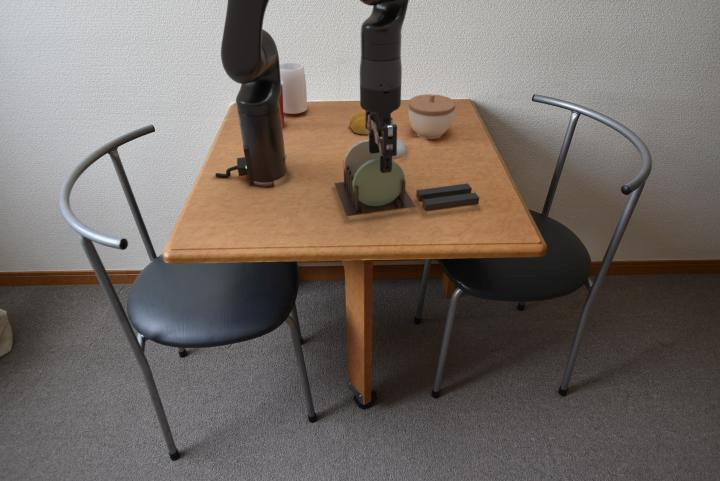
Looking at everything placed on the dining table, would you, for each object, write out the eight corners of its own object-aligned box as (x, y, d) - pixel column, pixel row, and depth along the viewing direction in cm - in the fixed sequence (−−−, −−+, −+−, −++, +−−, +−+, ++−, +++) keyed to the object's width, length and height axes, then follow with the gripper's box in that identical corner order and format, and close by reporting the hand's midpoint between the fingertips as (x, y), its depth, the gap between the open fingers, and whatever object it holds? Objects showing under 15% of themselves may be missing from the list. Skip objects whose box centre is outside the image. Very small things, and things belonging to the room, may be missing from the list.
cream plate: (345, 188, 107) (343, 143, 101) (344, 186, 108) (342, 141, 101) (392, 182, 109) (393, 138, 102) (390, 180, 110) (392, 136, 103)
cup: (292, 120, 142) (288, 72, 133) (275, 113, 147) (269, 66, 138) (314, 112, 147) (310, 65, 138) (296, 105, 152) (292, 59, 143)
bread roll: (356, 137, 132) (356, 123, 130) (346, 125, 139) (345, 112, 136) (384, 132, 134) (384, 119, 132) (372, 121, 141) (372, 108, 139)
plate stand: (424, 216, 100) (426, 204, 99) (415, 201, 105) (416, 190, 103) (477, 209, 102) (479, 197, 101) (466, 194, 107) (467, 183, 106)
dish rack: (346, 222, 99) (345, 191, 95) (334, 188, 110) (332, 159, 106) (415, 212, 102) (417, 182, 97) (396, 180, 113) (397, 152, 108)
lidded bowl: (410, 144, 128) (412, 104, 121) (403, 125, 138) (405, 88, 132) (456, 142, 129) (461, 103, 122) (446, 124, 139) (450, 86, 132)
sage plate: (353, 209, 100) (352, 162, 94) (352, 207, 101) (351, 160, 94) (403, 202, 102) (406, 156, 95) (402, 200, 103) (404, 154, 96)
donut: (365, 163, 120) (404, 166, 118) (364, 151, 118) (404, 153, 116) (372, 146, 128) (409, 148, 126) (372, 134, 126) (409, 136, 124)
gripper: (351, 71, 91) (354, 149, 100) (370, 96, 79) (370, 181, 89) (389, 67, 92) (388, 144, 102) (412, 92, 81) (408, 176, 90)
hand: (380, 161), depth 95 cm, fingers open, 8 cm apart
